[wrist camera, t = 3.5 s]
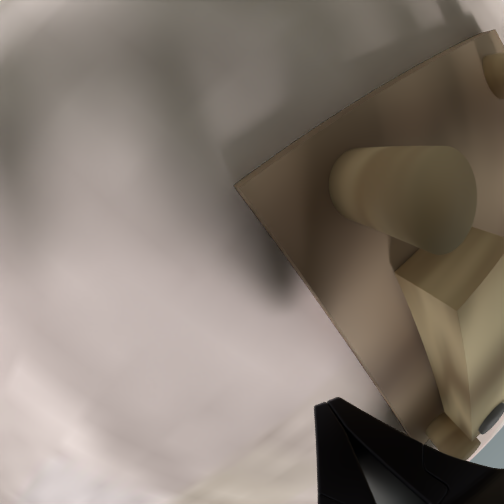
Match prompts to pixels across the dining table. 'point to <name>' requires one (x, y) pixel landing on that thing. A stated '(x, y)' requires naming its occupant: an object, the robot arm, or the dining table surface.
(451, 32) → the dining table surface
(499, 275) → the leg
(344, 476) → the robot arm
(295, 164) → the board
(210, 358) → the dining table surface
